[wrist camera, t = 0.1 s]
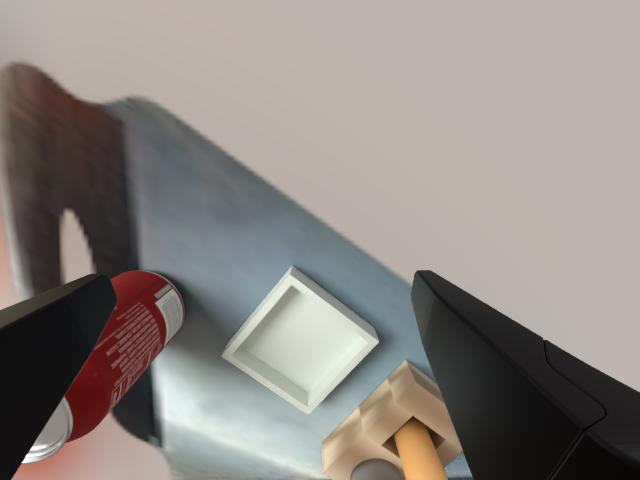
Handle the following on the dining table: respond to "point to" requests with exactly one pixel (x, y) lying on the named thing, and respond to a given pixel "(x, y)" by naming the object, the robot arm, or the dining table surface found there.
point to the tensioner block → (389, 429)
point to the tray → (300, 341)
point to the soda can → (115, 358)
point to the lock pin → (418, 452)
